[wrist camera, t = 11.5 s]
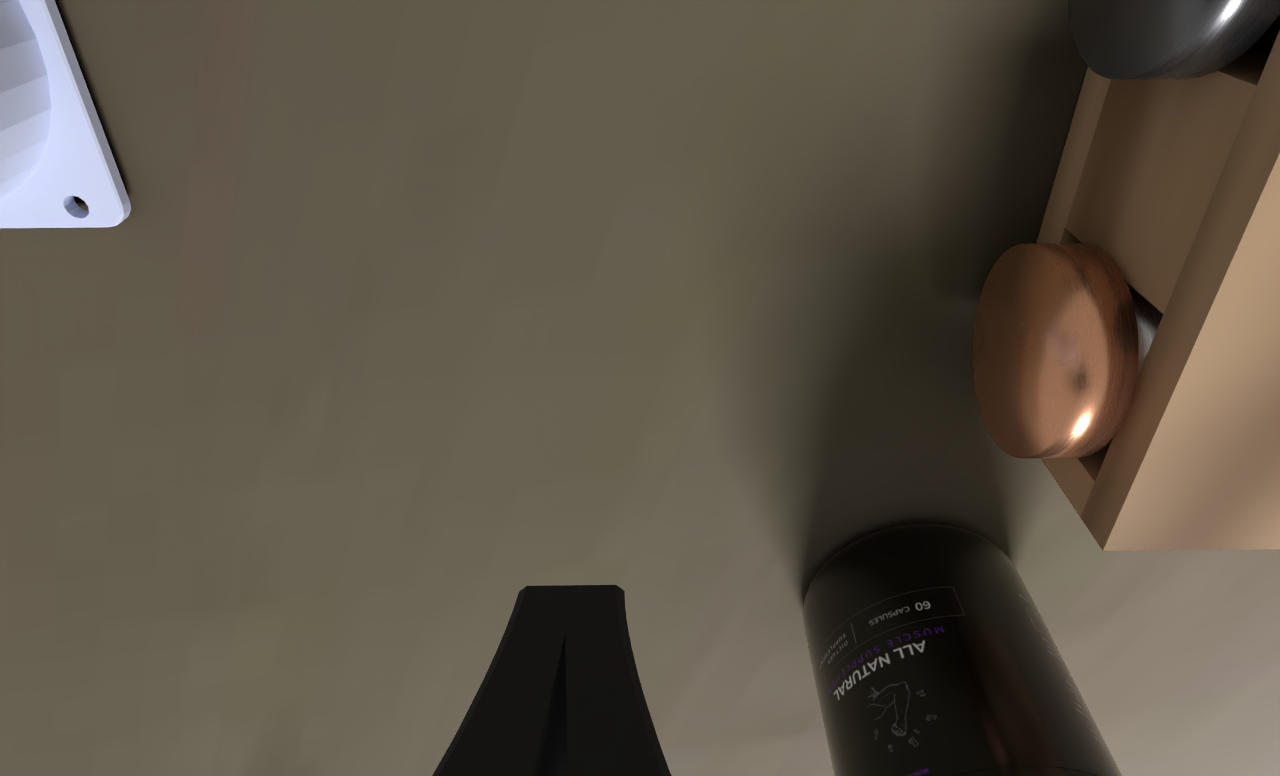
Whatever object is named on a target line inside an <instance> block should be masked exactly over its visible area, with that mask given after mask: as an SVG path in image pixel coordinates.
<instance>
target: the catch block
mask: <svg viewBox="0 0 1280 776" xmlns="http://www.w3.org/2000/svg"><path fill="white" fill-rule="evenodd" d="M1036 243H1085V244H1091V245H1093V246H1096V247H1098V248H1100V249H1101V250H1103V251H1104V252H1105V253H1107V254H1108V255H1109V256H1110V257H1111V258H1112V259H1113V261H1114V262H1115V263H1116V265H1117V266H1118V268H1119V269H1120V271H1121V273H1122V275H1123V276H1124V278H1125V280H1126V283H1127V285H1128V286H1129V285H1131V286H1132V287H1133V288H1134V289H1135V290H1136V291H1138V292H1139V293H1140V294H1141V295H1142V296H1143V297H1144V298H1146V299H1147V300H1148V301H1149V302H1150V303H1151V304H1152V305H1154V306H1155V307H1156V308H1157V309H1158V310H1159V311H1160V312H1161V313H1163V317H1162V319H1161V322H1160V324H1159V326H1158V329H1157V331H1156V334H1155V336H1154V339H1153V341H1152V344H1151V346H1150V348H1149V351H1148V353H1147V356H1146V358H1145V361H1144V363H1143V366H1142V368H1141V370H1140V373H1139V375H1138V378H1137V380H1136V383H1135V387H1134V391H1133V395H1132V399H1131V402H1130V405H1129V408H1128V410H1127V413H1126V415H1125V417H1124V420H1123V422H1122V424H1121V426H1120V427H1119V429H1118V430H1117V432H1116V434H1115V435H1114V436H1113V438H1112V439H1111V440H1110V441H1109V442H1108V444H1106V445H1105V446H1104V447H1103V448H1102V449H1101V450H1099V451H1097V452H1096V453H1094V454H1092V455H1089V456H1086V457H1078V458H1041V459H1042V461H1043V462H1044V464H1045V465H1046V467H1047V468H1048V470H1049V471H1050V473H1051V474H1052V476H1053V477H1054V479H1055V480H1056V482H1057V483H1058V485H1059V486H1060V488H1061V489H1062V491H1063V492H1064V494H1065V495H1066V497H1067V498H1068V500H1069V501H1070V502H1071V504H1072V505H1073V507H1074V508H1075V510H1076V511H1077V513H1078V514H1079V516H1080V517H1081V519H1082V520H1083V522H1084V523H1085V525H1086V526H1087V528H1088V529H1089V531H1090V532H1091V534H1092V535H1093V537H1094V538H1095V540H1096V541H1097V543H1098V544H1099V546H1100V547H1101V549H1102V550H1103V551H1135V550H1230V549H1280V21H1274V22H1273V23H1272V25H1271V26H1270V27H1269V28H1268V29H1267V30H1266V32H1265V33H1264V34H1263V35H1262V36H1261V37H1260V38H1259V39H1258V40H1257V41H1256V42H1255V43H1254V44H1253V45H1252V46H1251V47H1250V48H1249V49H1248V50H1247V51H1245V52H1244V53H1243V54H1242V55H1241V56H1239V57H1238V58H1237V59H1235V60H1234V61H1233V62H1231V63H1230V64H1228V65H1227V66H1225V67H1223V68H1221V69H1219V70H1218V71H1216V72H1214V73H1211V74H1208V75H1205V76H1203V77H1199V78H1192V79H1128V80H1118V79H1107V78H1104V77H1101V76H1099V75H1098V74H1096V73H1095V72H1093V71H1092V70H1091V69H1090V68H1089V67H1088V68H1087V71H1086V75H1085V78H1084V81H1083V85H1082V88H1081V92H1080V95H1079V99H1078V102H1077V105H1076V109H1075V112H1074V116H1073V119H1072V123H1071V126H1070V129H1069V133H1068V136H1067V140H1066V143H1065V147H1064V150H1063V153H1062V157H1061V160H1060V164H1059V167H1058V170H1057V174H1056V177H1055V181H1054V184H1053V188H1052V191H1051V194H1050V198H1049V201H1048V205H1047V208H1046V212H1045V215H1044V218H1043V222H1042V225H1041V229H1040V232H1039V236H1038V239H1037V242H1036Z"/></svg>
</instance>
